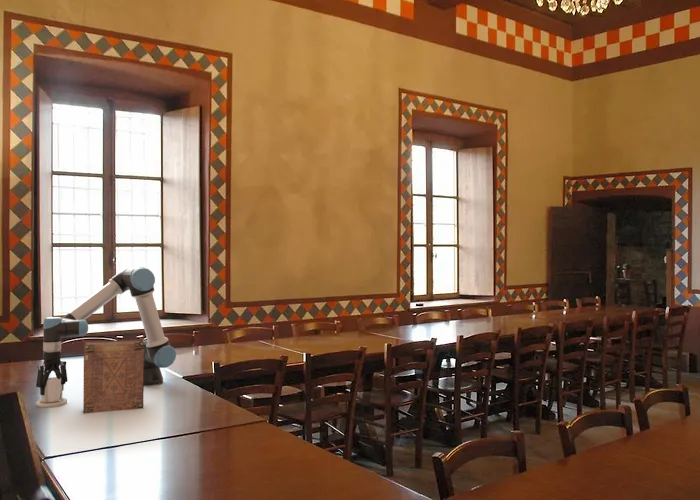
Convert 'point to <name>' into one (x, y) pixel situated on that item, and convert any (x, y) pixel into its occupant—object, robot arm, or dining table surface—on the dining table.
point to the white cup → (53, 389)
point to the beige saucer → (51, 403)
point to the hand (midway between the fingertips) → (52, 399)
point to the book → (113, 375)
